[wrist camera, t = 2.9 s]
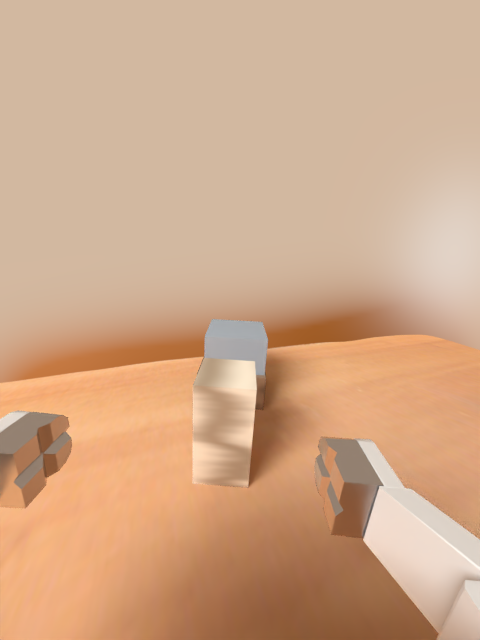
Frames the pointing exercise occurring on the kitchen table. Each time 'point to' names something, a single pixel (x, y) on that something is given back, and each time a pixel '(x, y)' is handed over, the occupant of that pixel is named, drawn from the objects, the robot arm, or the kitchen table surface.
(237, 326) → the slate-blue top block
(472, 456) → the kitchen table surface
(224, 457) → the cream pillar block
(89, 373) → the kitchen table surface
